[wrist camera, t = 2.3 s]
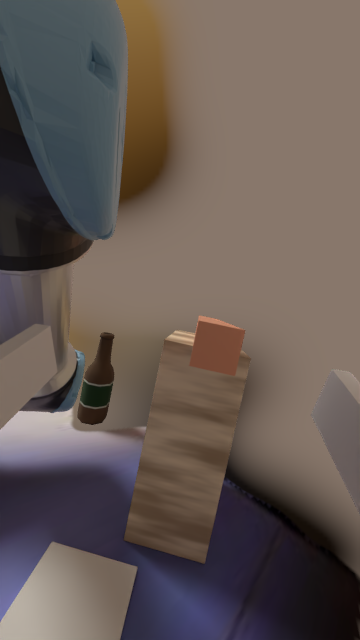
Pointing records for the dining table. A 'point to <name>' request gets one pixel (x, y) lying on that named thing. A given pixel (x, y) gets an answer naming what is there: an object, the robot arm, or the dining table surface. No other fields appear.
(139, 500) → the stand
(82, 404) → the beer bottle
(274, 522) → the dining table surface
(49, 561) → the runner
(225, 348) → the pink long bar
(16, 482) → the dining table surface
